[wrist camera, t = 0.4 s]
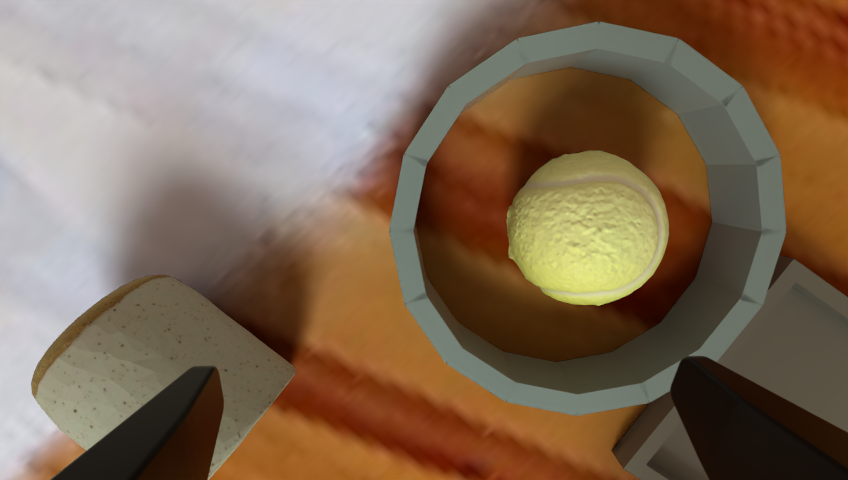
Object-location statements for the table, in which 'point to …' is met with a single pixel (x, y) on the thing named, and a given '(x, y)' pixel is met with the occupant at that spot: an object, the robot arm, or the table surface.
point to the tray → (760, 371)
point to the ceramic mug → (154, 362)
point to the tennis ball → (588, 228)
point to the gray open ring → (722, 257)
